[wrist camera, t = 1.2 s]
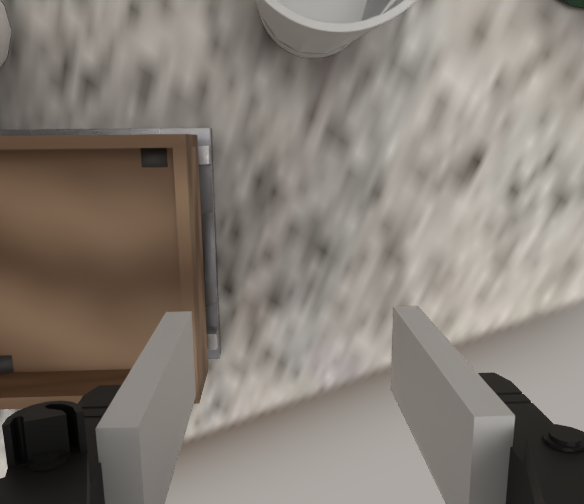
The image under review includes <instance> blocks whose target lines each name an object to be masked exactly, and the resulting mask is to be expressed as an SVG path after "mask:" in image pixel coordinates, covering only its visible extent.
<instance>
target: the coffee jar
mask: <svg viewBox="0 0 584 504" xmlns="http://www.w3.org/2000/svg"><path fill="white" fill-rule="evenodd" d="M565 1H566V2H568V3H570V4H572V5H574V6H577V7H582V8H584V0H565Z"/></svg>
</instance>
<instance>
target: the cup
mask: <svg viewBox="0 0 584 504" xmlns="http://www.w3.org/2000/svg"><path fill="white" fill-rule="evenodd" d="M416 1H417V0H255V3H256V5H257V7H258V10H259V15H260V18H261V21H262V23H263V25H264V27H265V29H266V31H267V32H268V34H269V35H270V37H271V38H272V39H273V40H274V41H275V42H276V43H277V44H278V45H279V46H280V47H282V48H283V49H284V50H286V51H288V52H290V53H292V54H294V55H297V56H300V57H305V58H322V57H327V56H330V55H333V54H335V53H337V52H339V51H341V50H343V49H344V48H345V47H347V46H348V45H349V44H350V43H351V42H352V41H354V40H355V39H357V38H359V37H360V36H362V35H364V34H365V33H367V32H368V31H370V30H372V29H374V28H376V27H378V26H380V25H382V24H384V23H386V22H387V21H389V20H391V19H393V18H395V17H396V16H398V15H400V14H401V13H402V12H404V11H405V10H407V9H408V8H409V7H410V6H411V5H413V4H414V3H415V2H416Z"/></svg>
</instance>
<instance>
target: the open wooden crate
mask: <svg viewBox="0 0 584 504" xmlns="http://www.w3.org/2000/svg"><path fill="white" fill-rule="evenodd" d="M183 311H192V329H193V348H194V367H195V386H196V397H195V401H194V403H199V402H200V398H201V395H202V391H203V387H204V383H205V380H206V376H207V372H208V354H207V333H206V312H205V290H204V269H203V248H202V226H201V205H200V183H199V162H198V141H197V135H193V134H138V135H46V136H0V409H23V408H26V407H28V406H31V405H34V404H39V403H43V402H48V401H60V400H62V401H70V402H74V403H76V404H78V402H79V401H80V400H81V398H82V397H83V396H84V395H85V394H87V393H88V392H90V391H91V390H93V389H94V388H96V387H98V386H99V385H122V384H123V382H124V380H125V379H126V377H127V376H128V374H129V372H130V371H131V369H132V367H133V366H134V364H135V362H136V361H137V359H138V357H139V356H140V354H141V352H142V351H143V349H144V347H145V346H146V344H147V343H148V341H149V339H150V338H151V336H152V334H153V333H154V331H155V329H156V328H157V326H158V324H159V323H160V321H161V319H162V318H163V316H164V314H165V313H166V312H183Z"/></svg>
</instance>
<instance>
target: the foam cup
mask: <svg viewBox="0 0 584 504" xmlns="http://www.w3.org/2000/svg"><path fill="white" fill-rule="evenodd" d="M10 38H11V29H10V25H9V21H8V18H7V14H6V10H5V6H4V4H3V3H2V2H1V1H0V67H1V66H2V64H3V63H4V62H5V60H6V59H7V56H8V50H9V44H10Z"/></svg>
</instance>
